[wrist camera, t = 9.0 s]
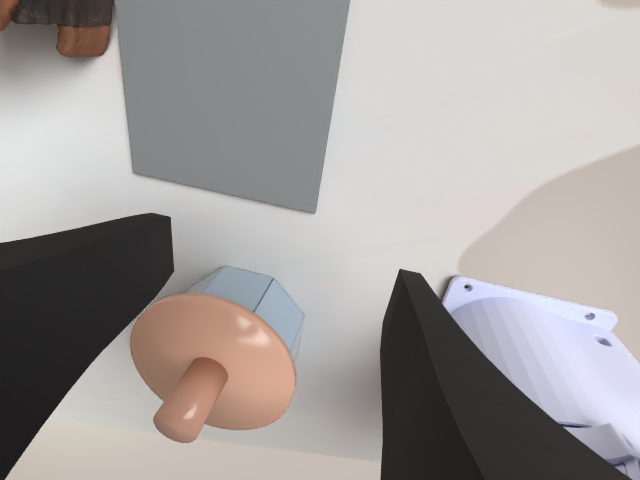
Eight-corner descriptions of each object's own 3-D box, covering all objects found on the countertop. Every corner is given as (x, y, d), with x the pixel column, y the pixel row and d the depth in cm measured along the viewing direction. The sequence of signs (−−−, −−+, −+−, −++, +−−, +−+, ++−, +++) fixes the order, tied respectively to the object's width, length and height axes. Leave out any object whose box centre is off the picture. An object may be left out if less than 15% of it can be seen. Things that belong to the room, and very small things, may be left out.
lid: (303, 314, 18) (278, 380, 14) (290, 434, 23) (269, 508, 19) (126, 276, 19) (59, 327, 15) (149, 397, 24) (103, 460, 20)
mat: (355, -33, 15) (354, -36, 15) (315, 211, 21) (314, 213, 20) (113, -68, 16) (107, -72, 16) (137, 171, 22) (132, 172, 21)
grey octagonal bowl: (309, 286, 23) (289, 335, 19) (294, 374, 27) (275, 431, 23) (191, 257, 24) (145, 297, 20) (193, 346, 28) (156, 396, 24)
